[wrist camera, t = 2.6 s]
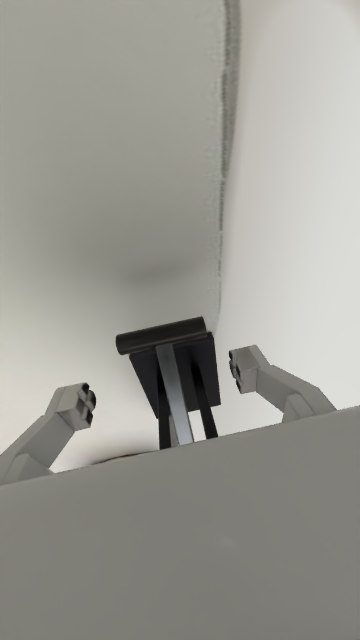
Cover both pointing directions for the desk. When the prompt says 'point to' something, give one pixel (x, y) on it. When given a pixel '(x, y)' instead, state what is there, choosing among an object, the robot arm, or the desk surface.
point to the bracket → (195, 379)
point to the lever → (167, 363)
